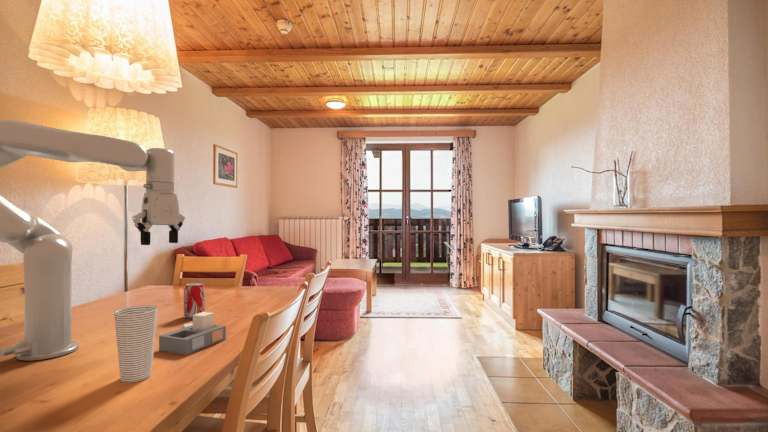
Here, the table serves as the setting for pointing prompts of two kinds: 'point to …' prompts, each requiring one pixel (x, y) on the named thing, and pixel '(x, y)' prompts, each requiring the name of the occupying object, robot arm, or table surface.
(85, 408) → the table surface
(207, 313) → the cream rectangular block
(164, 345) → the grey compartment tray
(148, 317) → the cup
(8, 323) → the table surface
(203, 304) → the soda can
